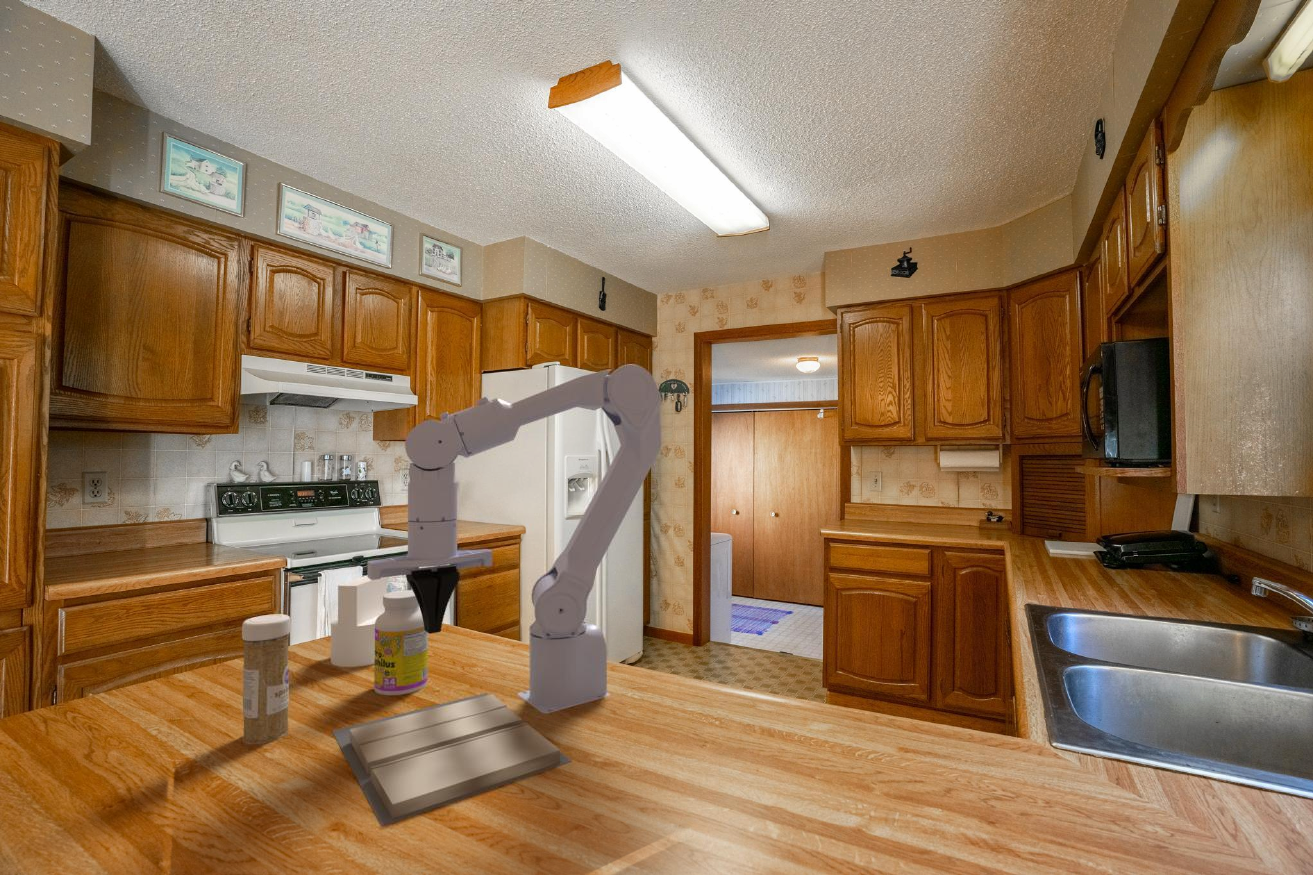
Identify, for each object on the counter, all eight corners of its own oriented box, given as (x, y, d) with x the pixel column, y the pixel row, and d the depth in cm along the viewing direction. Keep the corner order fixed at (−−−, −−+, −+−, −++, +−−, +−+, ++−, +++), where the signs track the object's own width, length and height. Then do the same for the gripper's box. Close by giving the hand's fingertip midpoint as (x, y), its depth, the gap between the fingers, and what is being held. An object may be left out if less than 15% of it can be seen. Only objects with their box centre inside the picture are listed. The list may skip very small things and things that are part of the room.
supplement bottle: (365, 691, 84) (365, 594, 84) (412, 677, 89) (412, 586, 89) (389, 704, 79) (389, 602, 80) (437, 688, 84) (437, 592, 85)
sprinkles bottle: (290, 742, 69) (291, 619, 69) (241, 753, 66) (242, 625, 67) (288, 727, 73) (289, 610, 73) (241, 737, 70) (242, 616, 71)
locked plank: (525, 733, 69) (525, 721, 69) (560, 761, 63) (560, 749, 63) (370, 779, 60) (370, 766, 60) (392, 818, 53) (392, 803, 53)
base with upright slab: (352, 647, 103) (353, 573, 103) (405, 648, 102) (405, 574, 102) (317, 666, 94) (318, 585, 94) (374, 667, 93) (375, 586, 93)
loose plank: (492, 703, 77) (492, 693, 77) (521, 729, 70) (521, 718, 70) (349, 740, 68) (349, 728, 68) (367, 774, 61) (368, 761, 61)
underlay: (486, 697, 81) (486, 692, 81) (571, 766, 63) (571, 760, 63) (331, 736, 70) (331, 730, 70) (381, 833, 52) (381, 825, 52)
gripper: (477, 513, 85) (477, 614, 84) (361, 521, 76) (361, 634, 76) (498, 517, 79) (498, 626, 79) (375, 526, 70) (375, 648, 70)
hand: (432, 631), depth 77 cm, fingers closed
